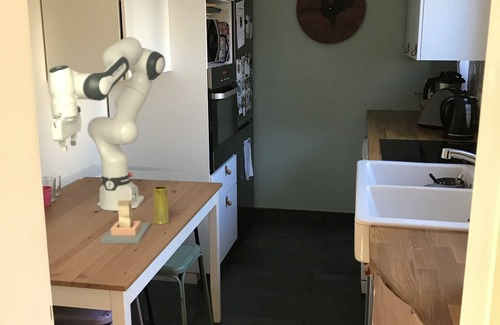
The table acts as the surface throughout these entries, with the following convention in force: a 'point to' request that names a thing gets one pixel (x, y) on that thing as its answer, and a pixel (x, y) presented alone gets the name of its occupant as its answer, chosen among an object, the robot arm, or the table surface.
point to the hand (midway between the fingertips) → (69, 148)
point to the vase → (161, 205)
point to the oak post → (125, 213)
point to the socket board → (126, 233)
